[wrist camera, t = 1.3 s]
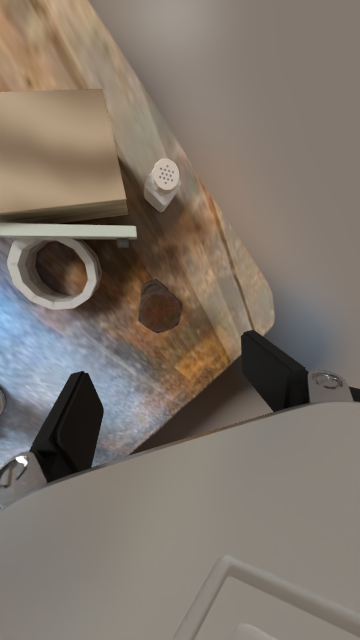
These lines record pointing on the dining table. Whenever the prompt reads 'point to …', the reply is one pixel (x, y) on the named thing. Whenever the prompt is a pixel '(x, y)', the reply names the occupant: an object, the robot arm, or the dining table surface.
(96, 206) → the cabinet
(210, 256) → the dining table surface
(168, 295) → the bolt
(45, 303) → the grey piece
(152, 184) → the pepper shaker
